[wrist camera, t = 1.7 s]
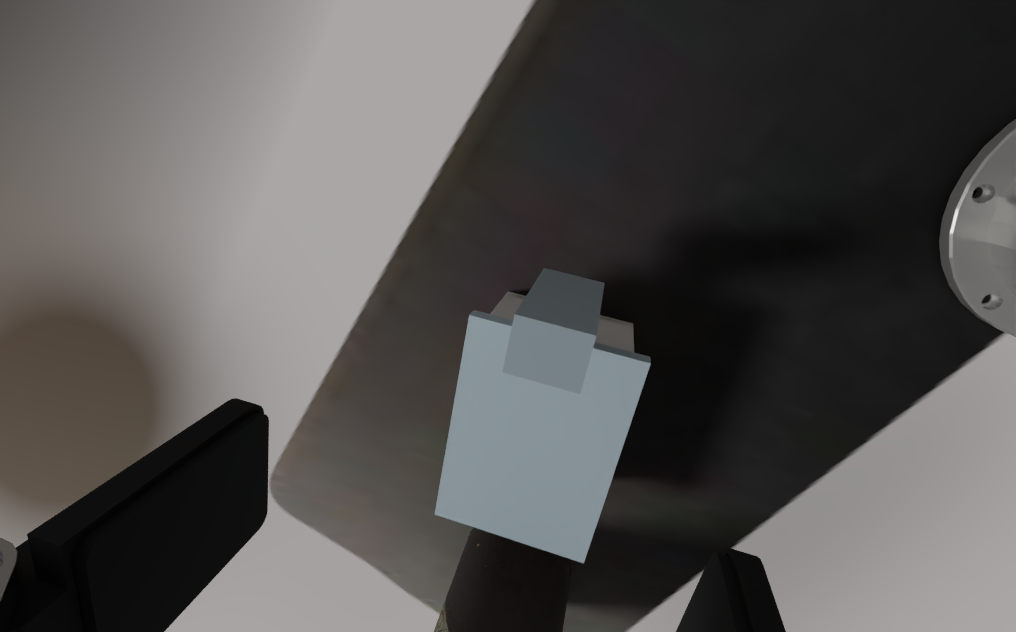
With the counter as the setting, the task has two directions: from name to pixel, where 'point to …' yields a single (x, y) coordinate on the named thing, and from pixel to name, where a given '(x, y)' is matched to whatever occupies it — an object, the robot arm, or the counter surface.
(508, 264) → the counter surface
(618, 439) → the lid
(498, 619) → the container
